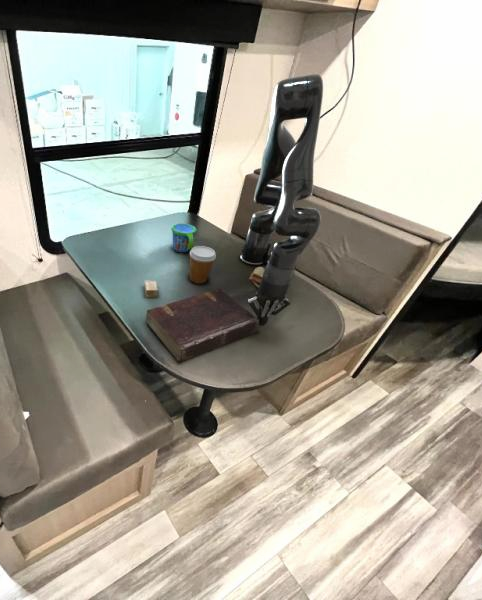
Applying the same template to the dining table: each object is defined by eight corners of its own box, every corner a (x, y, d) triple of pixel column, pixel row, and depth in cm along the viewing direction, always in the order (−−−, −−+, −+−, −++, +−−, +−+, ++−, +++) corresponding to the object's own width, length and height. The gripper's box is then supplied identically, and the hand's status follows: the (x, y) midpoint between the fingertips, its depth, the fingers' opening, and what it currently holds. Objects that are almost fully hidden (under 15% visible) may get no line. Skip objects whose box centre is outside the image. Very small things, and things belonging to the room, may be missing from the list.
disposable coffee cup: (210, 287, 117) (216, 259, 110) (184, 283, 119) (189, 255, 112) (210, 274, 125) (216, 247, 118) (186, 271, 126) (190, 244, 119)
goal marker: (155, 287, 116) (155, 280, 114) (156, 297, 111) (157, 290, 109) (144, 287, 116) (144, 280, 114) (145, 297, 111) (146, 290, 109)
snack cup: (164, 242, 147) (166, 221, 141) (185, 240, 149) (188, 220, 143) (175, 258, 135) (178, 236, 129) (198, 256, 137) (202, 234, 131)
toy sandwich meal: (276, 298, 113) (280, 287, 110) (243, 282, 121) (246, 272, 118) (291, 286, 120) (296, 275, 117) (259, 271, 128) (263, 261, 125)
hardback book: (179, 362, 87) (182, 349, 84) (145, 322, 100) (147, 310, 97) (256, 332, 98) (260, 320, 95) (216, 300, 111) (219, 288, 108)
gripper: (293, 270, 92) (275, 316, 102) (249, 270, 91) (235, 316, 102) (306, 284, 86) (286, 331, 96) (259, 284, 85) (244, 332, 96)
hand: (260, 324), depth 99 cm, fingers closed
